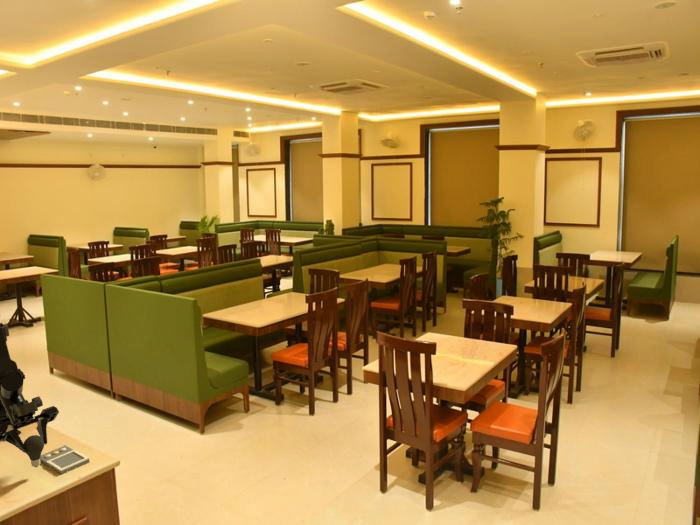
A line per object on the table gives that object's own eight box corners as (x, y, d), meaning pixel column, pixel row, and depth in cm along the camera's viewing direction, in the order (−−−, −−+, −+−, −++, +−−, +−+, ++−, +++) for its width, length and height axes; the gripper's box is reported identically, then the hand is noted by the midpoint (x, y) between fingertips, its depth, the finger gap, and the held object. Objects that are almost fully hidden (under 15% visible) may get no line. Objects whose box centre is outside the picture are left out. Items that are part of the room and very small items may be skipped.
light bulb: (37, 472, 171) (34, 441, 169) (21, 470, 172) (17, 439, 170) (50, 462, 177) (47, 432, 175) (35, 460, 178) (31, 430, 176)
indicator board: (37, 459, 184) (37, 455, 184) (65, 448, 191) (65, 444, 191) (61, 474, 175) (60, 470, 175) (89, 461, 182) (89, 457, 182)
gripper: (-13, 402, 165) (9, 449, 161) (52, 381, 180) (74, 423, 175) (-21, 420, 171) (0, 465, 167) (43, 398, 186) (64, 440, 181)
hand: (36, 447), depth 172 cm, fingers closed on light bulb, 6 cm apart
